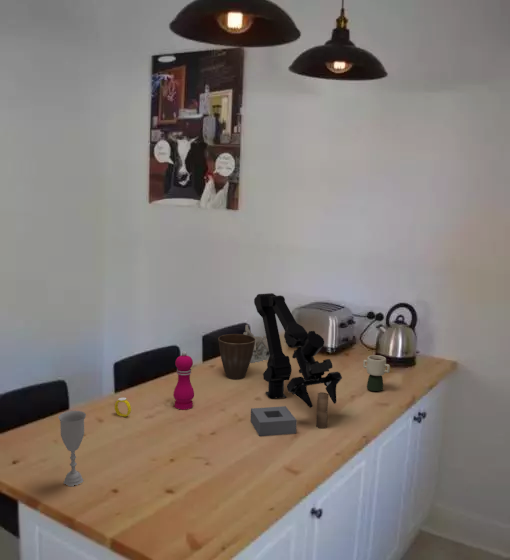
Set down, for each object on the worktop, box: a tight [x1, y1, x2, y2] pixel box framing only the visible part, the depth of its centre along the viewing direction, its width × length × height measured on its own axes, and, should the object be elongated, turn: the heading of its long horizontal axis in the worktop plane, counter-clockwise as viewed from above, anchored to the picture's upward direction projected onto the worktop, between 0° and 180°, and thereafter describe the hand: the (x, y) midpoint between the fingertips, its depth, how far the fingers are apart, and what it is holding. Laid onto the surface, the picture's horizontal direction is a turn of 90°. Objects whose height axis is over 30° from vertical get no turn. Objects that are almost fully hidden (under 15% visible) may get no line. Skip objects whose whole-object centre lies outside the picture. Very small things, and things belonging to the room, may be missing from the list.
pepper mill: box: [172, 350, 195, 411], centre depth 212 cm, size 7×7×20 cm
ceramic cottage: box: [243, 324, 270, 364], centre depth 273 cm, size 16×16×15 cm
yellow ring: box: [114, 397, 132, 418], centre depth 203 cm, size 6×3×6 cm, turn 62°
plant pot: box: [217, 333, 255, 380], centre depth 246 cm, size 15×15×16 cm
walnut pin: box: [315, 392, 329, 429], centre depth 199 cm, size 4×4×11 cm
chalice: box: [58, 410, 87, 487], centre depth 157 cm, size 7×7×18 cm
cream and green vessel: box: [362, 354, 391, 392], centre depth 235 cm, size 11×7×13 cm, turn 56°
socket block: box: [250, 405, 298, 437], centre depth 197 cm, size 12×12×4 cm
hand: (323, 405), depth 198 cm, fingers open, 9 cm apart
